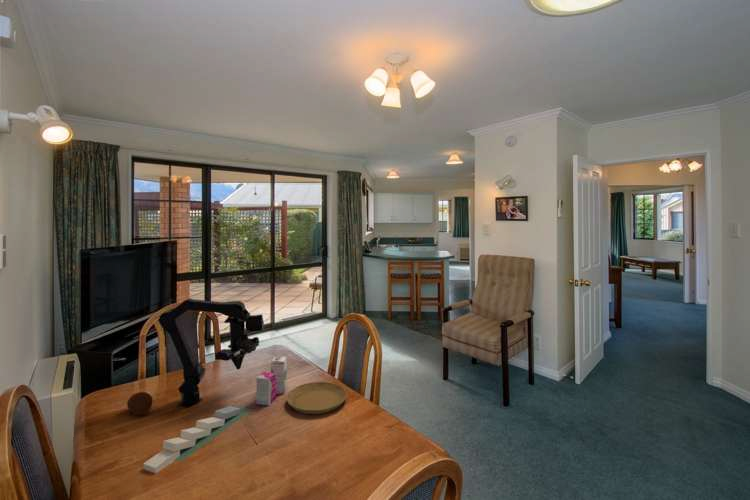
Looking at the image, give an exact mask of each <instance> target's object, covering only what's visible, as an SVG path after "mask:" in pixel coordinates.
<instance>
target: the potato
mask: <svg viewBox="0 0 750 500" xmlns="http://www.w3.org/2000/svg"><path fill="white" fill-rule="evenodd" d="M153 401H154V400H153V396H152V395H151V394H150V393H148V392H146V391H140V392H136V393H134V394H132V395H131V396H130V397H129V398H128V400H127V402H126V403H127V404H126V406H127V409H128V410H129V411H130V412H132V413H133V414H134V415H136V416H144V415H146V414H147V413H148V412H149V411H150V410H151V409H152V405H153Z"/></svg>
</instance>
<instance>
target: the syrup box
mask: <svg viewBox="0 0 750 500" xmlns="http://www.w3.org/2000/svg"><path fill="white" fill-rule="evenodd" d="M287 362H288V359H287V356H274V357H273V358H272V360H271V362H270V373H275V374H276V395H284V394H286V390H287V387H288V384H287V382H288V377H287V376H288V374H287V373H288V367H287V366H288V364H287Z"/></svg>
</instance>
